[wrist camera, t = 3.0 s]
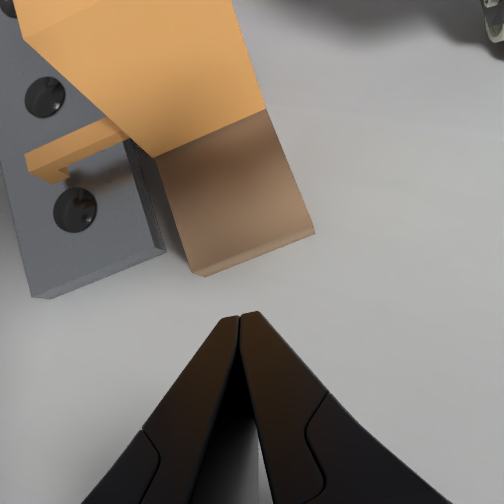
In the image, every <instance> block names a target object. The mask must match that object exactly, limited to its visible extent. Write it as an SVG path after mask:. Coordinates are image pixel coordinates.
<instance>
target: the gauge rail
mask: <svg viewBox="0 0 504 504" xmlns="http://www.w3.org/2000/svg"><path fill="white" fill-rule="evenodd" d="M4 1H5V2H7V1H9V0H4ZM154 159H155V162H156V165H157V168H158V171H159V174H160V177H161V180H162V183H163V186H164V189H165V193H166V196H167V199H168V202H169V205H170V208H171V211H172V214H173V217H174V220H175V223H176V226H177V230H178V233H179V236H180V239H181V242H182V245H183V248H184V251H185V254H186V257H187V260H188V263H189V266H190V270H191V272H192V273H194V274H197V275H200V276H202V277H206V276H209V275H211V274H214V273H217V272H219V271H222V270H224V269H227V268H229V267H232V266H234V265H237V264H239V263H242V262H244V261H247V260H250V259H252V258H255V257H257V256H260V255H262V254H265V253H267V252H270V251H272V250H275V249H277V248H280V247H283V246H285V245H288V244H290V243H293V242H295V241H298V240H300V239H303V238H305V237H308V236H310V235H313V234H315V231H314V227H313V223H312V221H311V218H310V216H309V213H308V211H307V208H306V206H305V204H304V201H303V199H302V196H301V194H300V191H299V189H298V186H297V184H296V181H295V179H294V176H293V174H292V171H291V169H290V167H289V164H288V162H287V159H286V157H285V154H284V152H283V149H282V147H281V144H280V142H279V139H278V137H277V134H276V132H275V130H274V127H273V125H272V122H271V120H270V117H269V115H268V112H267V110H266V109H264V110H262V111H259V112H257V113H255V114H252V115H250V116H248V117H246V118H243V119H241V120H239V121H236V122H234V123H232V124H230V125H227V126H225V127H223V128H220V129H218V130H216V131H214V132H211V133H209V134H207V135H204V136H202V137H200V138H197V139H195V140H193V141H191V142H188V143H186V144H184V145H181V146H179V147H177V148H175V149H172V150H170V151H168V152H165V153H163V154H161V155H159V156H156V157H154Z"/></svg>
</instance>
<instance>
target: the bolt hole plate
mask: <svg viewBox="0 0 504 504" xmlns="http://www.w3.org/2000/svg"><path fill="white" fill-rule="evenodd" d="M105 117H107V116H106V115H105V114H104V113H103V112H102V111H101V110H100V109H99V108H97V107H96V106H95V105H94V104H93V103H92V102H91V101H90V100H89V99H88V98H87V97H86V96H84V95H83V94H82V93H81V92H80V91H79V90H78V89H77V88H76V87H75V86H74V85H72V84H71V83H70V82H69V81H68V80H67V79H66V78H65V77H64V76H63V75H62V74H61V73H59V72H58V71H57V70H56V69H55V68H54V67H53V66H52V65H51V64H50V63H49V62H47V61H46V60H45V59H44V58H43V57H42V56H41V55H40V54H39V53H38V52H37V51H35V50H34V49H33V48H32V47H31V46H30V45H29V44H28V43H27V42H26V41H25V40H24V39H23V37H22V33H21V29H20V25H19V22H18V18H17V14H16V10H15V6H14V3H13V0H9V1H7V2H5V1H4V0H0V162H1V167H2V171H3V175H4V180H5V184H6V188H7V193H8V197H9V201H10V206H11V210H12V214H13V219H14V223H15V227H16V232H17V236H18V240H19V245H20V249H21V253H22V258H23V262H24V266H25V271H26V275H27V279H28V284H29V288H30V292H31V297H33V298H43V299H52V298H55V297H57V296H60V295H62V294H65V293H67V292H70V291H72V290H75V289H77V288H79V287H82V286H84V285H87V284H89V283H92V282H94V281H97V280H99V279H102V278H104V277H107V276H109V275H111V274H114V273H116V272H119V271H121V270H124V269H126V268H129V267H131V266H134V265H136V264H139V263H141V262H143V261H146V260H148V259H151V258H153V257H156V256H158V255H161V254H163V253H166V249H165V246H164V243H163V239H162V236H161V233H160V230H159V227H158V224H157V220H156V217H155V214H154V211H153V208H152V204H151V201H150V198H149V195H148V192H147V189H146V185H145V182H144V179H143V176H142V173H141V169H140V166H139V163H138V160H137V157H136V153H135V150H134V147H133V144H132V141H131V138H129V139H126V140H124V141H122V142H120V143H117V144H115V145H113V146H111V147H109V148H106V149H104V150H102V151H100V152H97V153H95V154H93V155H91V156H88V157H86V158H84V159H82V160H79V161H77V162H75V163H73V164H70V165H68V166H67V168H68V172H69V176H70V177H69V178H67V179H64V180H62V181H60V182H58V183H55V184H51V183H49V182H47V181H45V180H43V179H41V178H39V177H37V176H35V175H33V174H31V173H29V172H28V167H27V163H26V159H25V155H24V154H26V153H28V152H30V151H32V150H35V149H37V148H39V147H41V146H43V145H45V144H48V143H50V142H52V141H54V140H56V139H59V138H61V137H63V136H65V135H67V134H70V133H72V132H74V131H76V130H78V129H81V128H83V127H85V126H87V125H89V124H92V123H94V122H96V121H98V120H100V119H103V118H105Z"/></svg>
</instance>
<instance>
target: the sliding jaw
mask: <svg viewBox="0 0 504 504" xmlns="http://www.w3.org/2000/svg"><path fill="white" fill-rule="evenodd" d="M13 3H14V6H15V10H16V14H17V18H18V22H19V25H20V29H21V33H22V37H23V39H24V40H25V41H26V42H27V43H28V44H29V45H30V46H31V47H32V48H33V49H34V50H35V51H37V52H38V53H39V54H40V55H41V56H42V57H43V58H44V59H45V60H46V61H47V62H49V63H50V64H51V65H52V66H53V67H54V68H55V69H56V70H57V71H58V72H59V73H61V74H62V75H63V76H64V77H65V78H66V79H67V80H68V81H69V82H70V83H71V84H72V85H74V86H75V87H76V88H77V89H78V90H79V91H80V92H81V93H82V94H83V95H84V96H86V97H87V98H88V99H89V100H90V101H91V102H92V103H93V104H94V105H95V106H96V107H97V108H99V109H100V110H101V111H102V112H103V113H104V114H105V115H106V116H107V117H105V118H103V119H100V120H98V121H96V122H94V123H92V124H89V125H87V126H85V127H83V128H81V129H78V130H76V131H74V132H72V133H70V134H67V135H65V136H63V137H61V138H59V139H56V140H54V141H52V142H50V143H48V144H45V145H43V146H41V147H39V148H37V149H35V150H32V151H30V152H28V153H26V154H24V155H25V159H26V163H27V167H28V172H29V173H31V174H33V175H35V176H37V177H39V178H41V179H43V180H45V181H47V182H49V183H51V184H55V183H58V182H60V181H62V180H64V179H67V178H69V177H70V176H69V172H68V168H67V166H68V165H70V164H73V163H75V162H77V161H79V160H82V159H84V158H86V157H88V156H91V155H93V154H95V153H97V152H100V151H102V150H104V149H106V148H109V147H111V146H113V145H115V144H117V143H120V142H122V141H124V140H126V139H129V138H131V139H132V140H133V141H134V142H136V143H137V144H138V145H139V146H140V147H141V148H142V149H143V150H144V151H145V152H146V153H148V154H149V155H150V156H151V157H152V158H154V157H156V156H159V155H161V154H163V153H165V152H168V151H170V150H172V149H175V148H177V147H179V146H181V145H184V144H186V143H188V142H191V141H193V140H195V139H197V138H200V137H202V136H204V135H207V134H209V133H211V132H214V131H216V130H218V129H220V128H223V127H225V126H227V125H230V124H232V123H234V122H236V121H239V120H241V119H243V118H246V117H248V116H250V115H252V114H255V113H257V112H259V111H262V110H264V109H266V106H265V103H264V100H263V97H262V94H261V91H260V88H259V85H258V82H257V79H256V76H255V73H254V70H253V66H252V63H251V60H250V57H249V54H248V51H247V48H246V45H245V42H244V39H243V36H242V33H241V30H240V27H239V24H238V21H237V17H236V14H235V11H234V8H233V5H232V2H231V0H13Z"/></svg>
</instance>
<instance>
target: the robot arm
mask: <svg viewBox="0 0 504 504" xmlns="http://www.w3.org/2000/svg"><path fill="white" fill-rule="evenodd" d="M258 438H259V442H260V447H261V451H262V455H263V460H264V464H265V469H266V473H267V478H268V482H269V487H270V491H271V496H272V500H273V504H453V503H451V502H450V501H449V500H447V499H446V498H445V497H444V496H442V495H441V494H440V493H439V492H437V491H436V490H435V489H434V488H433V487H432V486H430V485H429V484H428V483H427V482H426V481H425V480H423V479H422V478H421V477H420V476H419V475H417V474H416V473H415V472H414V471H413V470H412V469H410V468H409V467H408V466H407V465H406V464H405V463H403V462H402V461H401V460H400V459H399V458H398V457H396V456H395V455H394V454H393V453H392V452H391V451H389V450H388V449H387V448H386V447H385V446H384V445H382V444H381V443H380V442H379V441H378V440H377V439H376V438H375V437H373V436H372V435H371V434H370V433H369V432H368V431H367V430H366V429H365V428H364V427H362V426H361V425H360V424H359V423H358V422H357V421H356V420H355V419H354V418H353V417H352V416H351V414H350V413H349V412H348V411H347V410H346V409H345V408H344V407H343V406H342V405H341V404H340V403H339V401H338V400H337V399H336V398H335V397H334V396H333V395H332V394H330V392H329V390H328V389H327V388H326V387H325V386H324V385H323V383H322V382H321V381H320V380H319V379H318V378H317V377H316V375H315V374H314V373H313V372H312V371H311V370H310V369H309V367H308V366H307V365H306V364H305V363H304V362H303V361H302V359H301V358H300V357H299V356H298V355H297V354H296V353H295V351H294V350H293V349H292V348H291V347H290V346H289V345H288V343H287V342H286V341H285V340H284V339H283V338H282V337H281V335H280V334H279V333H278V332H277V331H276V330H275V329H274V327H273V326H272V325H271V324H270V323H269V322H268V321H267V319H266V318H265V317H264V316H263V315H262V314H261V313H260V312H259V311H255V312H250V313H245V314H242V315H241V317H240V316H238V315H236V316H231V317H226V318H222V319H221V320H220V321H219V322H218V323H217V325H216V326H215V327H214V329H213V330H212V332H211V333H210V334H209V336H208V337H207V338H206V340H205V341H204V343H203V344H202V345H201V347H200V348H199V349H198V351H197V352H196V354H195V355H194V356H193V358H192V359H191V360H190V362H189V363H188V364H187V366H186V367H185V369H184V370H183V371H182V373H181V374H180V375H179V377H178V378H177V380H176V381H175V382H174V384H173V385H172V386H171V388H170V389H169V391H168V392H167V393H166V395H165V396H164V397H163V399H162V400H161V402H160V403H159V404H158V406H157V407H156V408H155V410H154V411H153V413H152V414H151V415H150V417H149V418H148V419H147V421H146V422H145V424H144V425H143V426H142V430H140V431H139V432H138V433H137V434H136V436H135V437H134V438H133V440H132V441H131V443H130V444H129V445H128V447H127V448H126V449H125V450H124V452H123V453H122V454H121V456H120V457H119V458H118V460H117V461H116V462H115V464H114V465H113V466H112V467H111V469H110V470H109V471H108V472H107V474H106V475H105V476H104V477H103V478H102V479H101V481H100V482H99V483H98V484H97V485H96V487H95V488H94V489H93V490H92V491H91V493H90V494H89V495H88V496H87V497H86V498H85V500H84V501H83V502H82V503H81V504H258Z"/></svg>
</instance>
